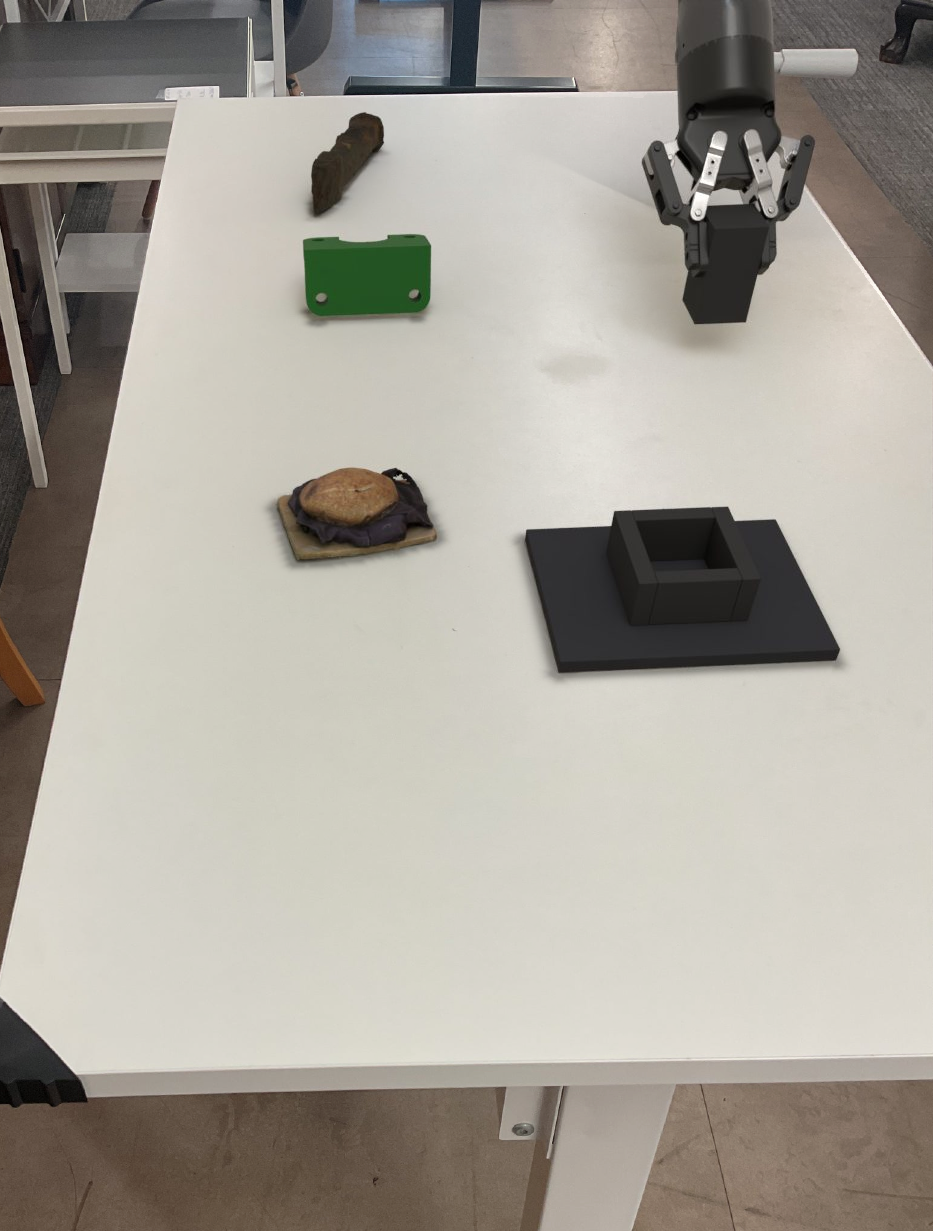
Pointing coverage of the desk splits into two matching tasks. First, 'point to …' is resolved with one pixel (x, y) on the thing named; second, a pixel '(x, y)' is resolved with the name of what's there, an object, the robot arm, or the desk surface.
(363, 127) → the dark brown lumpy bar
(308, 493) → the bread roll
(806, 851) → the desk surface
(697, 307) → the rectangular block
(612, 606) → the base pad
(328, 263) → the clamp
